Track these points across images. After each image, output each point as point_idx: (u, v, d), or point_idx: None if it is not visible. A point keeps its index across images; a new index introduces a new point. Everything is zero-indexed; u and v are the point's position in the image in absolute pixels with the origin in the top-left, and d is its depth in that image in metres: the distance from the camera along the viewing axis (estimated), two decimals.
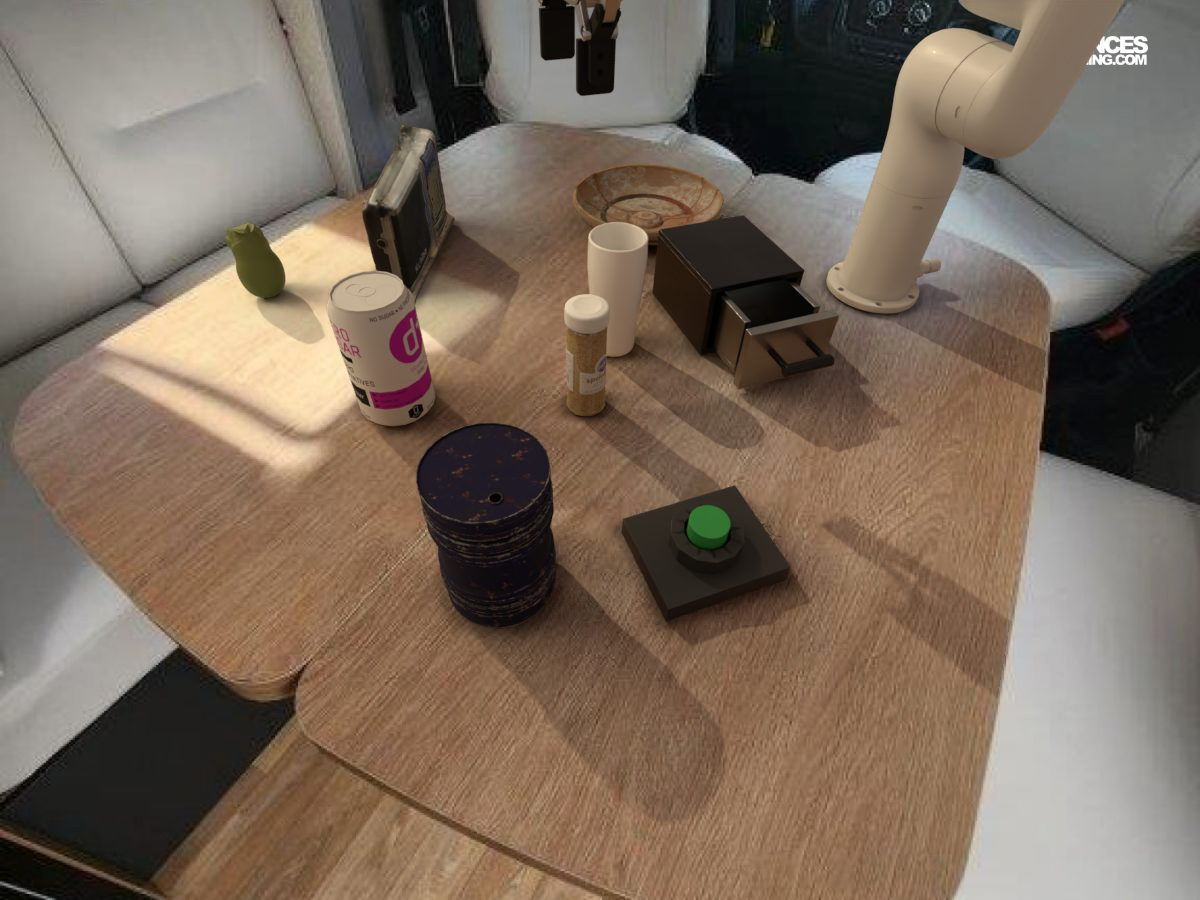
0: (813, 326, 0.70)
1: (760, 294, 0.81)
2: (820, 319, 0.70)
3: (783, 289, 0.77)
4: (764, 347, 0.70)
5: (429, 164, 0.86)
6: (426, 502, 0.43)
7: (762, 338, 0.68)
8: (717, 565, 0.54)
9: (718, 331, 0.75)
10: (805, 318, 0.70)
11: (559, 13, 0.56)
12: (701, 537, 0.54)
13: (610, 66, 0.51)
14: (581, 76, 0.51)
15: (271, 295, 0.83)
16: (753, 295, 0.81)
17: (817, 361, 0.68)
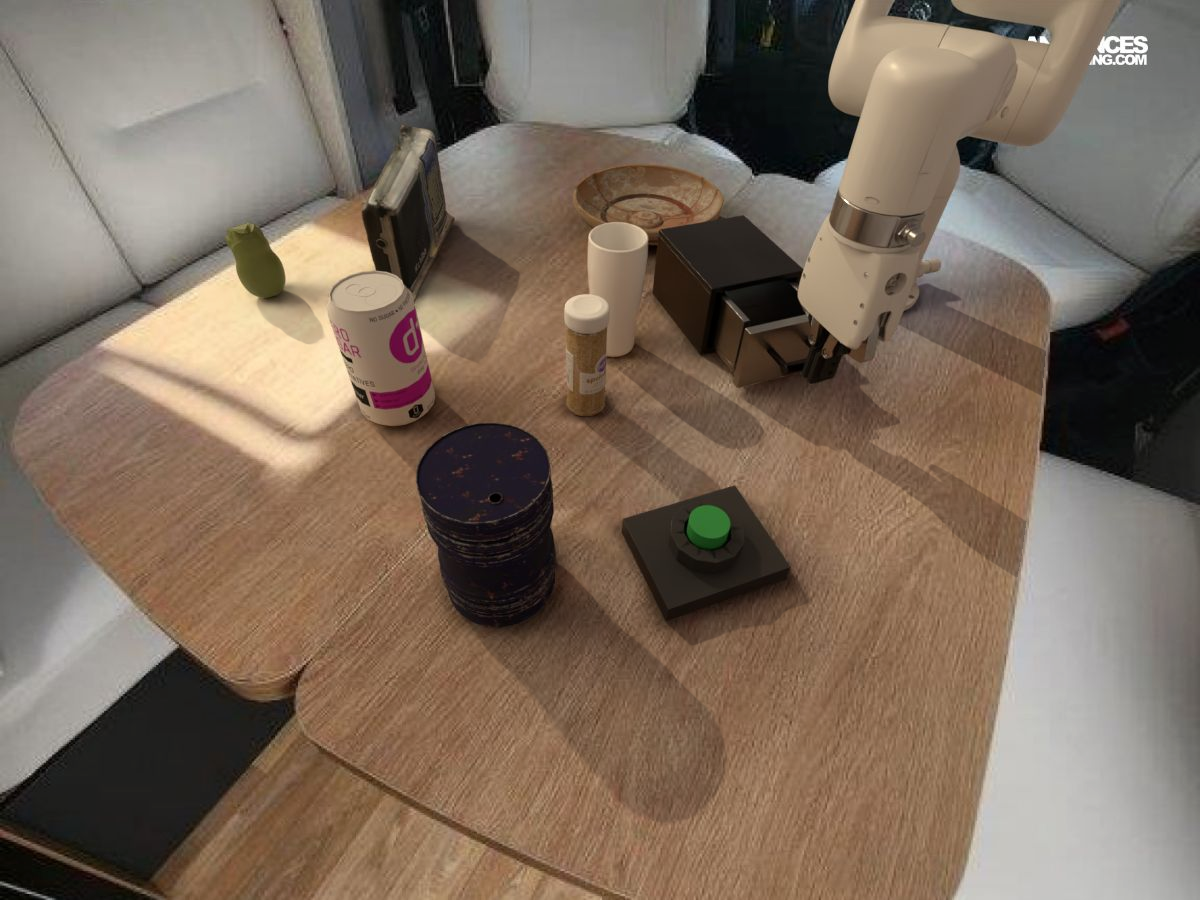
0: None
1: (759, 294, 0.82)
2: None
3: (782, 288, 0.77)
4: (763, 346, 0.70)
5: (429, 164, 0.86)
6: (426, 502, 0.43)
7: (761, 337, 0.69)
8: (717, 565, 0.54)
9: (718, 330, 0.76)
10: (804, 317, 0.70)
11: None
12: (701, 537, 0.54)
13: None
14: (814, 374, 0.66)
15: (271, 295, 0.83)
16: (752, 294, 0.81)
17: None
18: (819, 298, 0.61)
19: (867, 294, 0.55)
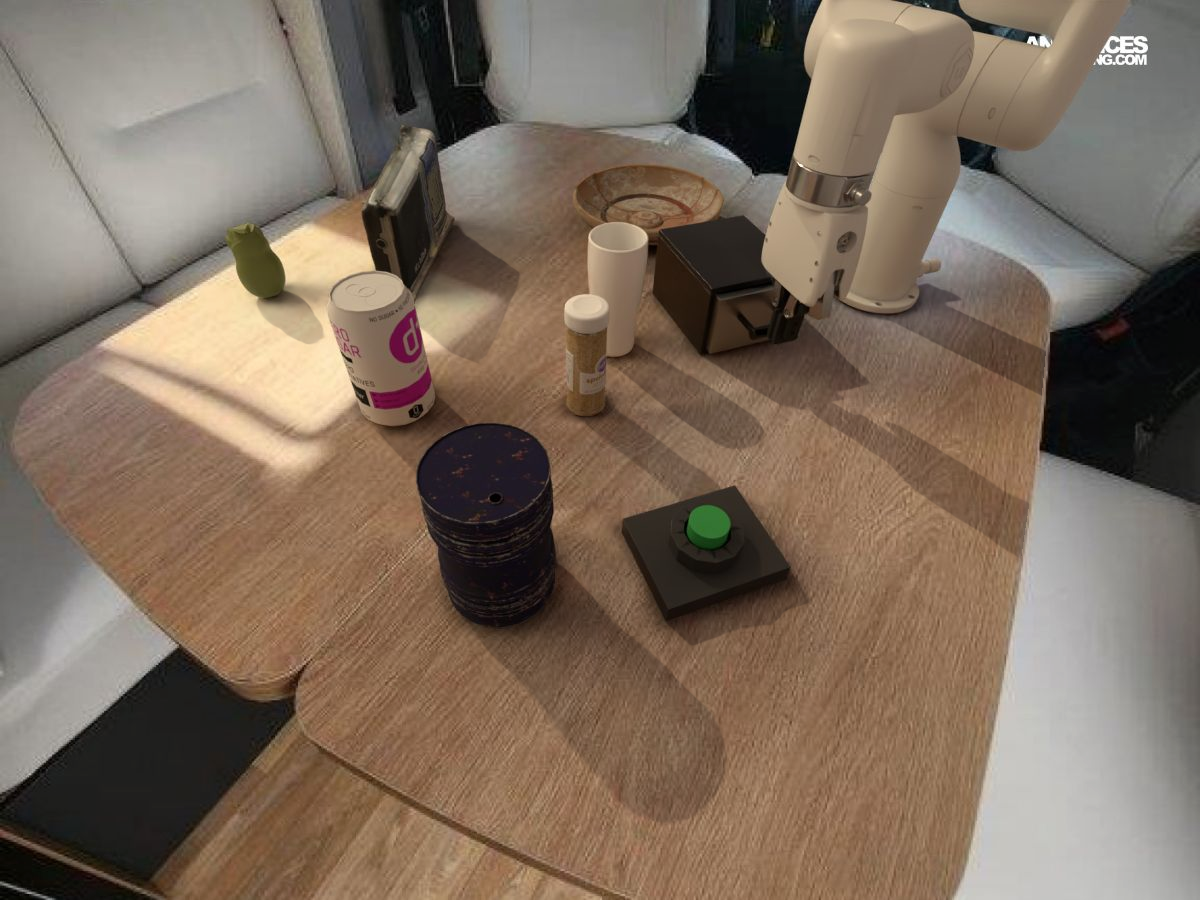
0: None
1: None
2: None
3: None
4: (733, 312, 0.74)
5: (429, 164, 0.86)
6: (426, 502, 0.43)
7: (731, 303, 0.73)
8: (717, 565, 0.54)
9: None
10: (772, 285, 0.74)
11: None
12: (701, 537, 0.54)
13: None
14: (778, 334, 0.70)
15: (271, 295, 0.83)
16: None
17: None
18: (779, 260, 0.65)
19: (820, 252, 0.59)
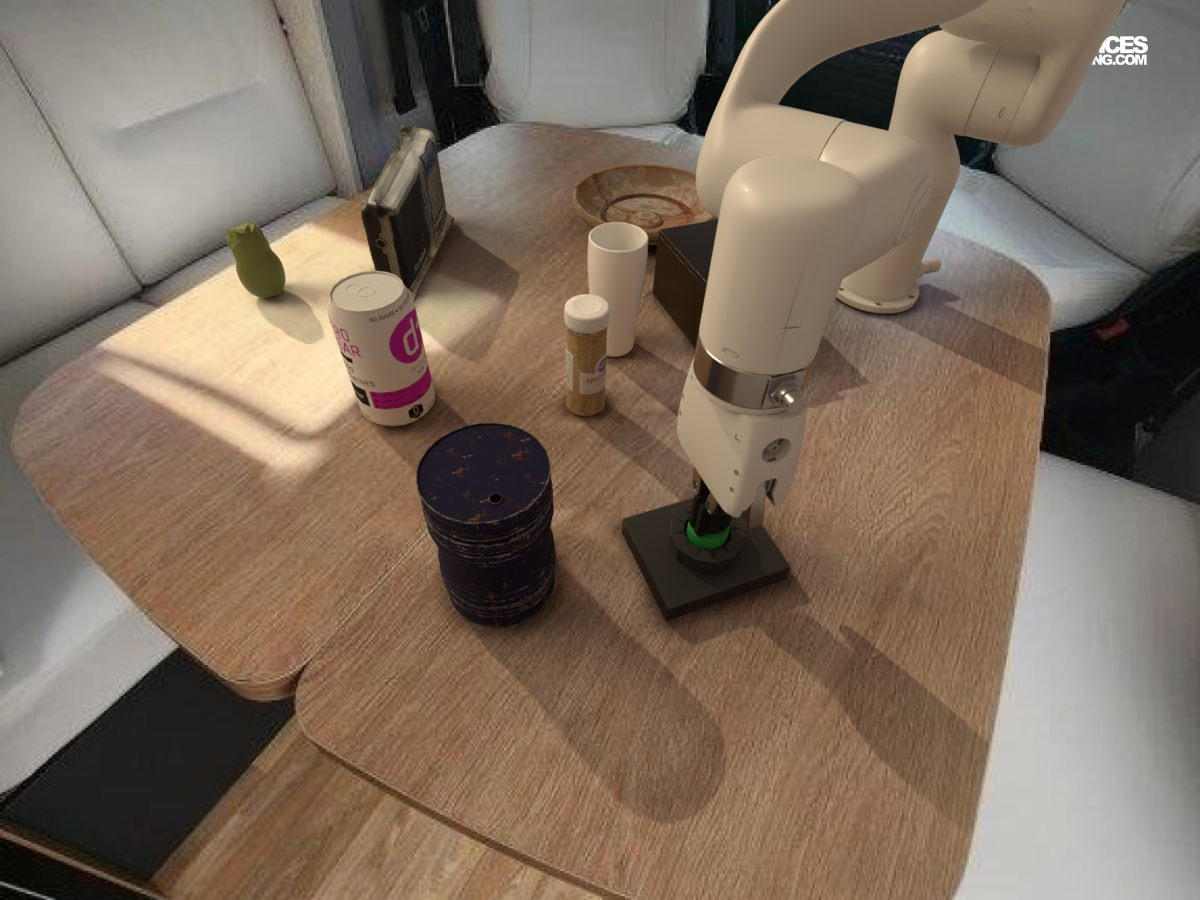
0: None
1: None
2: None
3: None
4: None
5: (429, 164, 0.86)
6: (426, 502, 0.43)
7: None
8: (717, 565, 0.54)
9: None
10: None
11: None
12: (700, 540, 0.54)
13: None
14: (701, 526, 0.53)
15: (271, 295, 0.83)
16: None
17: None
18: (695, 446, 0.48)
19: (741, 461, 0.42)
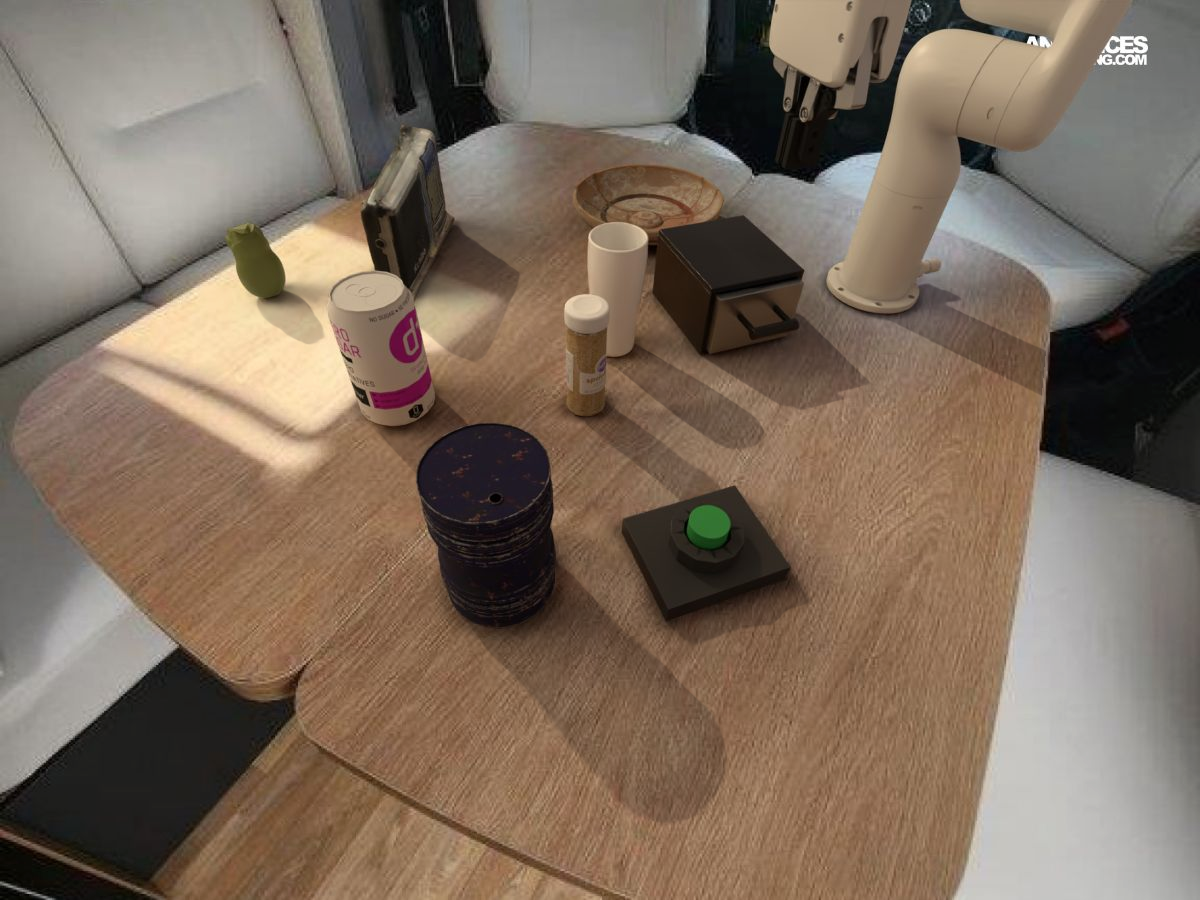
0: (779, 293, 0.75)
1: None
2: (785, 286, 0.74)
3: None
4: (733, 312, 0.74)
5: (428, 164, 0.86)
6: (426, 502, 0.43)
7: (731, 303, 0.73)
8: (717, 565, 0.54)
9: None
10: (772, 285, 0.74)
11: None
12: (701, 537, 0.54)
13: None
14: (791, 152, 0.52)
15: (271, 295, 0.83)
16: None
17: (782, 325, 0.73)
18: (795, 28, 0.46)
19: None
